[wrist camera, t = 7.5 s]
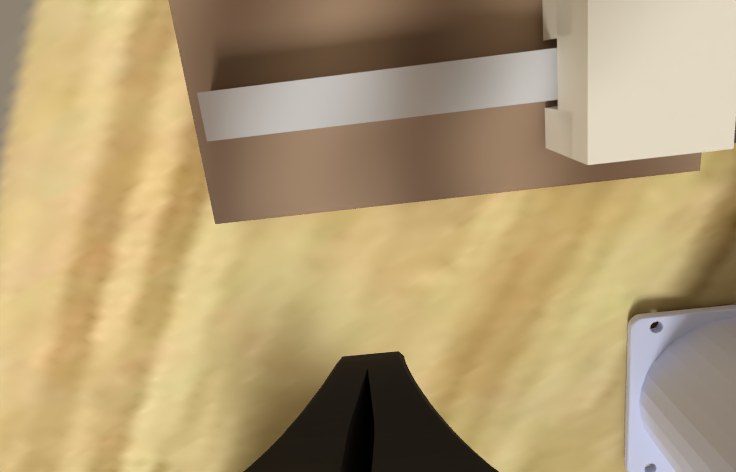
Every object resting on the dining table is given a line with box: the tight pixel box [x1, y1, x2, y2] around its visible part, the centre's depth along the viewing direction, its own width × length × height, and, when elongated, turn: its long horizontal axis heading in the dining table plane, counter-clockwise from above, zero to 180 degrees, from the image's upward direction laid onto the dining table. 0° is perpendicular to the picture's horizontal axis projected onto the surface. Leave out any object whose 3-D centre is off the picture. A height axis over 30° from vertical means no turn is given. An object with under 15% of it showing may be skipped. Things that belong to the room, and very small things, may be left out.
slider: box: [542, 0, 736, 165], centre depth 16 cm, size 4×5×4 cm
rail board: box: [169, 0, 736, 224], centre depth 17 cm, size 18×8×4 cm, turn 97°
